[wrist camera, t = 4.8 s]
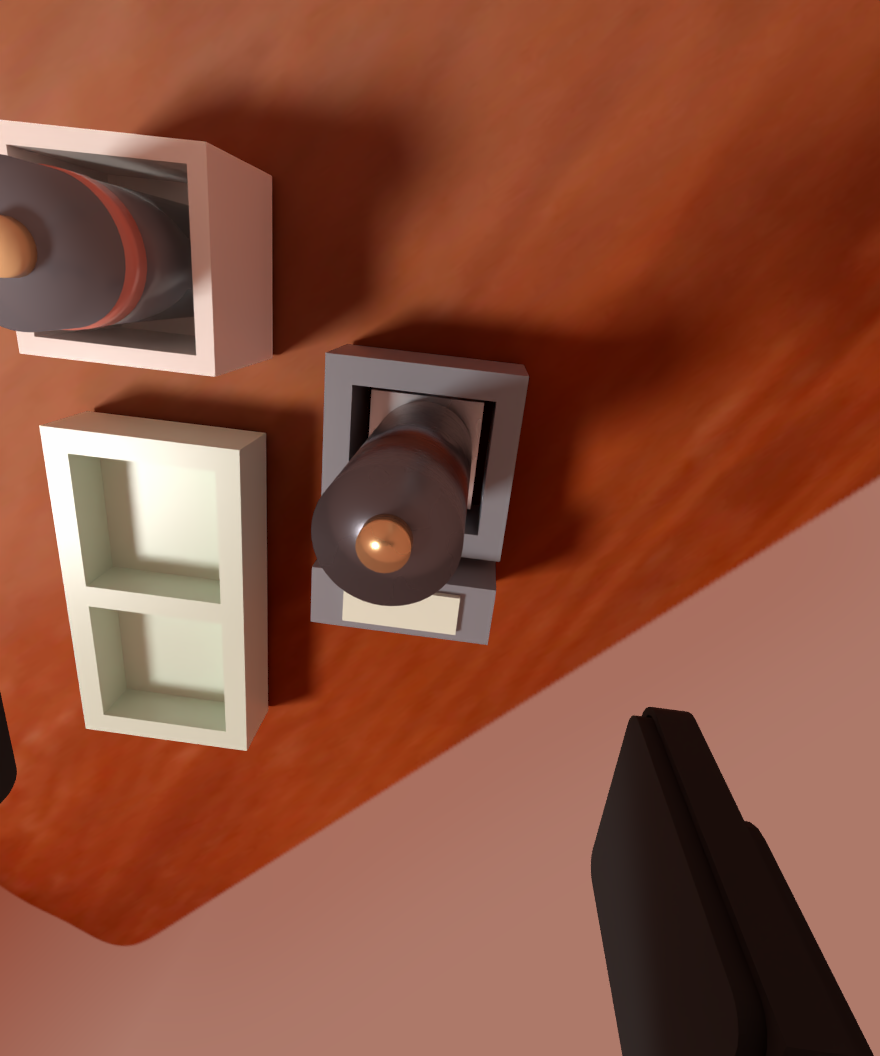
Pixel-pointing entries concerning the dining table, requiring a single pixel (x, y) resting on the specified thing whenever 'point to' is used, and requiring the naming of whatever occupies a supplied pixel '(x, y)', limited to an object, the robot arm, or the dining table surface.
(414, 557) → the cell
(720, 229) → the dining table surface
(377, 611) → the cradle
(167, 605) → the tray
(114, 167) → the cup
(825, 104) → the dining table surface
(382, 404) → the pad
